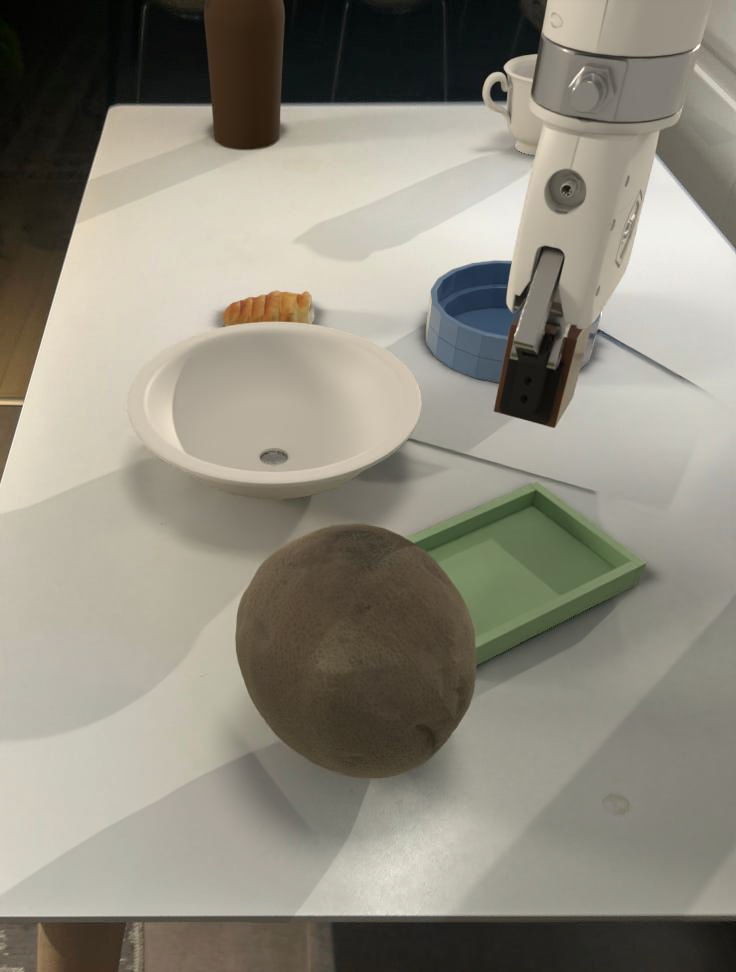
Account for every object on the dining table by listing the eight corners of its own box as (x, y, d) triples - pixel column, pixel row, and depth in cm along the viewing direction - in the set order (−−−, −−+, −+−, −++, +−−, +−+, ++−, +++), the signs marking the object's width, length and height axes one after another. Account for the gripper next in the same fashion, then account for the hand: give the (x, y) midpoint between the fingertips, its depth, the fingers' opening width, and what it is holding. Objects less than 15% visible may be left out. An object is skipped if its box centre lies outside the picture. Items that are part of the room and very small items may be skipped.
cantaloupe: (448, 657, 66) (482, 482, 55) (466, 833, 56) (512, 662, 46) (246, 650, 67) (240, 476, 56) (229, 821, 57) (219, 651, 46)
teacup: (460, 138, 135) (470, 58, 128) (559, 130, 137) (575, 50, 130) (489, 170, 127) (502, 86, 120) (595, 160, 129) (614, 77, 121)
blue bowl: (513, 292, 103) (522, 247, 99) (625, 358, 93) (639, 310, 90) (392, 333, 97) (397, 286, 94) (499, 407, 88) (508, 358, 84)
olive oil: (250, 157, 131) (246, -66, 113) (194, 140, 136) (182, -76, 118) (299, 136, 136) (302, -80, 118) (244, 120, 141) (239, -90, 123)
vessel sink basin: (105, 538, 76) (93, 470, 71) (165, 378, 92) (159, 314, 87) (409, 563, 73) (419, 494, 68) (416, 393, 89) (424, 328, 85)
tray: (531, 502, 78) (536, 481, 76) (639, 583, 71) (646, 562, 70) (356, 579, 72) (357, 558, 70) (454, 677, 65) (459, 656, 63)
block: (513, 382, 63) (531, 296, 59) (572, 397, 62) (595, 310, 57) (493, 411, 61) (510, 324, 56) (554, 428, 59) (577, 340, 55)
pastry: (220, 345, 96) (218, 309, 93) (225, 313, 101) (224, 278, 98) (313, 347, 96) (314, 311, 93) (314, 314, 100) (315, 279, 98)
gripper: (646, 144, 41) (555, 485, 55) (720, 45, 51) (627, 353, 65) (481, 117, 44) (432, 449, 57) (582, 27, 54) (520, 327, 67)
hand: (536, 395), depth 61 cm, fingers closed on block, 4 cm apart
